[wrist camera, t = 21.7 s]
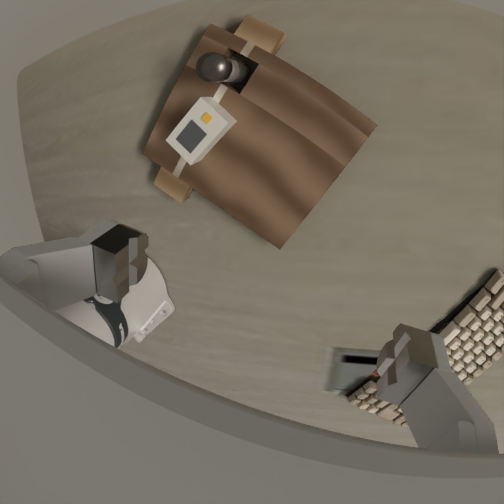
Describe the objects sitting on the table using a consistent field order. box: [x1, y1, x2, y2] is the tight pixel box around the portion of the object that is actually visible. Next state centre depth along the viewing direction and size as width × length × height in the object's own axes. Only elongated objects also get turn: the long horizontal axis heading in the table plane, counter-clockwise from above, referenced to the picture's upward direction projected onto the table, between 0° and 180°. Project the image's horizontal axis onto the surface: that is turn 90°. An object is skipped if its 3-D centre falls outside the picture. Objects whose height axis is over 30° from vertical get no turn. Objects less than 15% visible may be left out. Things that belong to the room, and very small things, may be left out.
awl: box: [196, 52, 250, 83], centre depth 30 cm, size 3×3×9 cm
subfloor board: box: [143, 15, 377, 249], centre depth 36 cm, size 26×23×2 cm
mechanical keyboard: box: [345, 269, 504, 428], centre depth 44 cm, size 38×19×3 cm, turn 155°
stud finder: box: [166, 97, 237, 165], centre depth 35 cm, size 7×4×3 cm, turn 136°
